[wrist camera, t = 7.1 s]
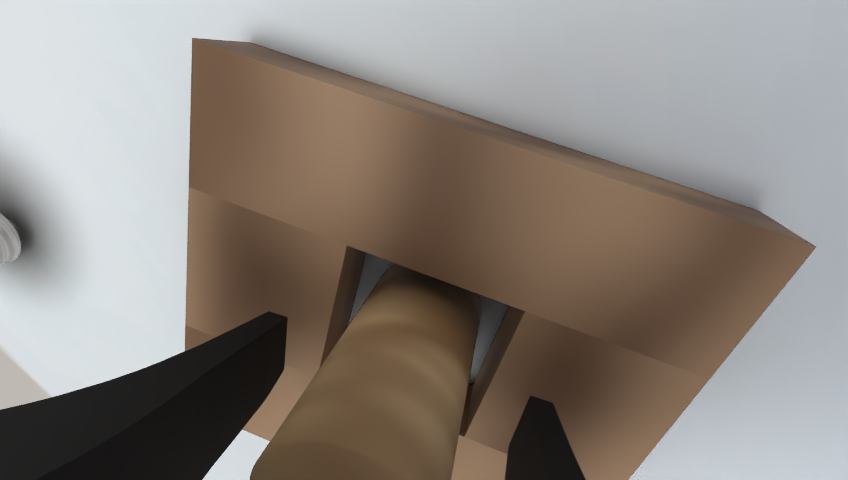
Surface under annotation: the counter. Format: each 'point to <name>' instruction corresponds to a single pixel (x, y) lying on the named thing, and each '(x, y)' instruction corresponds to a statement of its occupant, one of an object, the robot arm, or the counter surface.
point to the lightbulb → (9, 240)
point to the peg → (385, 389)
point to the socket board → (466, 251)
